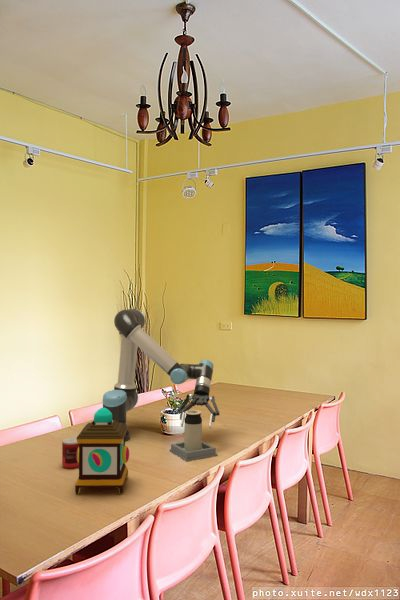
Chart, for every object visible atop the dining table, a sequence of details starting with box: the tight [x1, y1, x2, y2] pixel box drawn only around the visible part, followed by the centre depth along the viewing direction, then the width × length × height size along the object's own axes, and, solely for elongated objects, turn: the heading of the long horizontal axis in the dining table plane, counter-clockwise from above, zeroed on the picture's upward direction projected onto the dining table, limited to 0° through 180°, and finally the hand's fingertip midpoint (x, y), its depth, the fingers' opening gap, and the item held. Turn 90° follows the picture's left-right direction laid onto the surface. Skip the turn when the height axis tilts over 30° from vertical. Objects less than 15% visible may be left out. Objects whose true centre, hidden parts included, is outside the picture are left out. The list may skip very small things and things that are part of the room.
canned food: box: [61, 437, 79, 470], centre depth 214 cm, size 8×8×11 cm
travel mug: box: [183, 409, 203, 452], centre depth 231 cm, size 8×8×18 cm
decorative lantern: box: [74, 407, 130, 495], centre depth 192 cm, size 20×20×30 cm
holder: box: [169, 440, 218, 462], centre depth 231 cm, size 16×16×4 cm
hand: (195, 426), depth 236 cm, fingers open, 13 cm apart
